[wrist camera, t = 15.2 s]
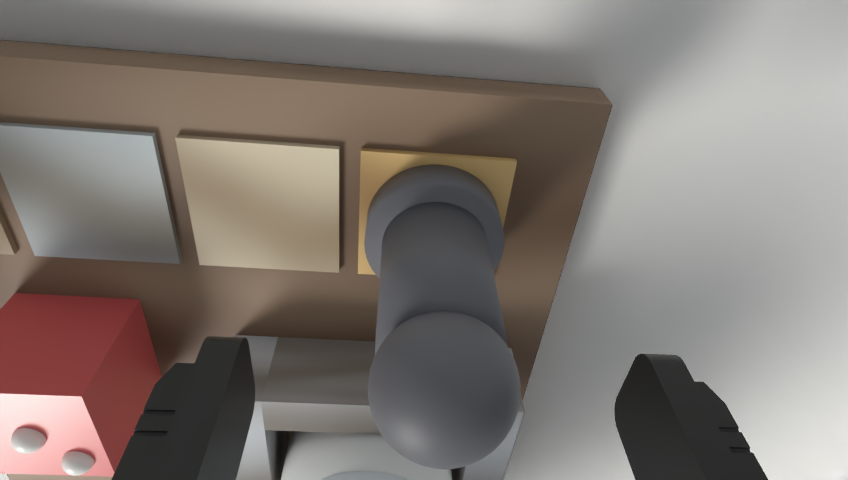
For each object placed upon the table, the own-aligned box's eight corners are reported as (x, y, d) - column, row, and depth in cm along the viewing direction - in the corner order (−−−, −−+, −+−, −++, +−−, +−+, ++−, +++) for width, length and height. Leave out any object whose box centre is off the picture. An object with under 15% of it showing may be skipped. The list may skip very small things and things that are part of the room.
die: (14, 293, 18) (-84, 404, 14) (139, 299, 18) (73, 410, 15) (51, 373, 20) (-25, 486, 17) (162, 377, 21) (109, 490, 17)
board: (-228, 21, 14) (-419, 73, 11) (599, 88, 16) (650, 152, 12) (29, 462, 26) (-26, 551, 22) (489, 476, 27) (500, 561, 24)
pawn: (368, 159, 15) (340, 380, 9) (509, 169, 16) (580, 390, 9) (365, 270, 18) (340, 509, 11) (487, 277, 18) (531, 513, 11)
